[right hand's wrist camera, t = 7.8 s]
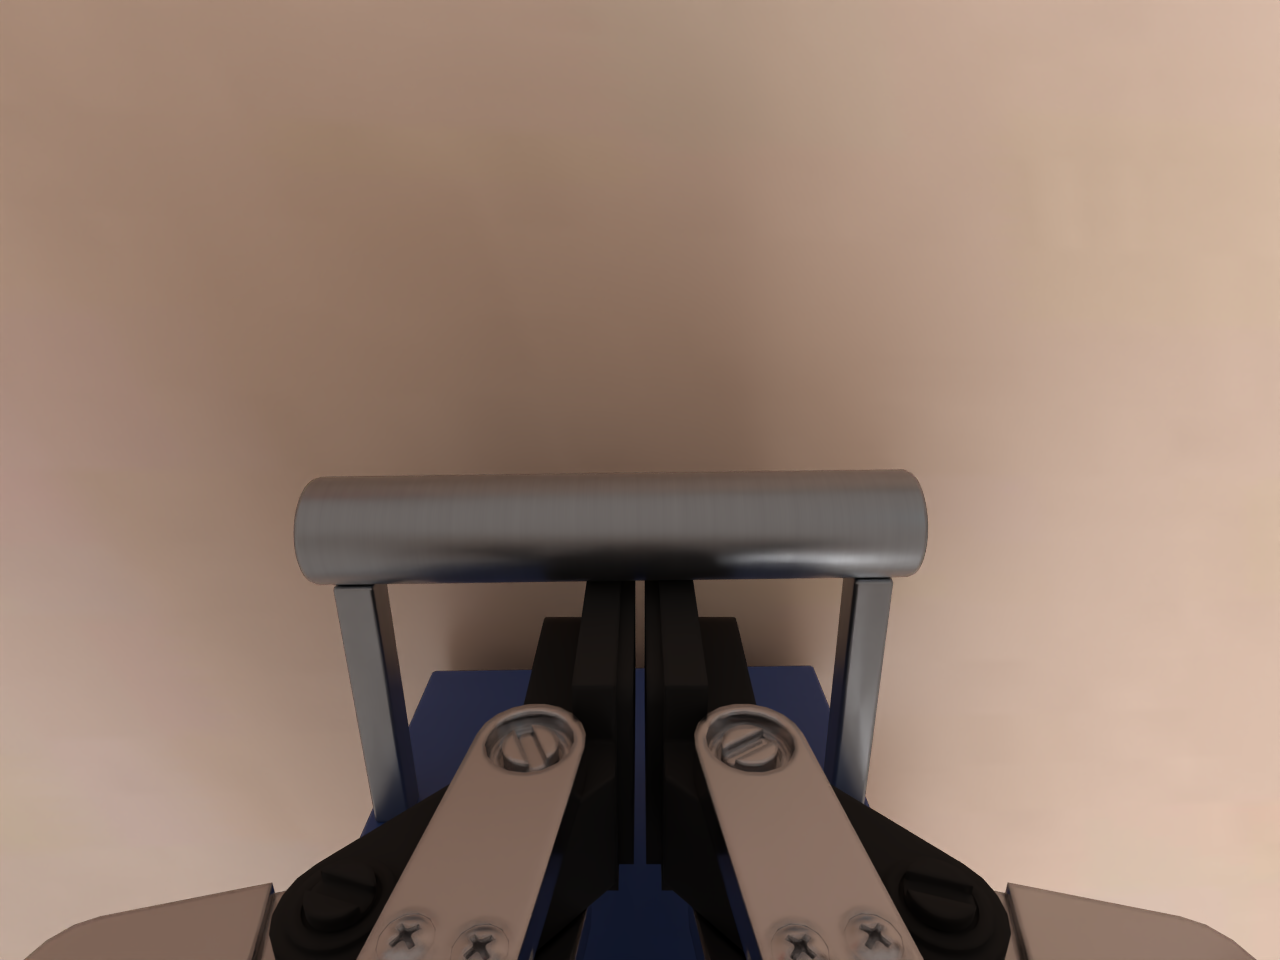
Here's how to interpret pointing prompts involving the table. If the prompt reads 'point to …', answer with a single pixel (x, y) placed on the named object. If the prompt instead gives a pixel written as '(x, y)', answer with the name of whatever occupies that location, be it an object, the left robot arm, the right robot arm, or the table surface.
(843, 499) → the drawer
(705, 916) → the right robot arm
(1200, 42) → the table surface
